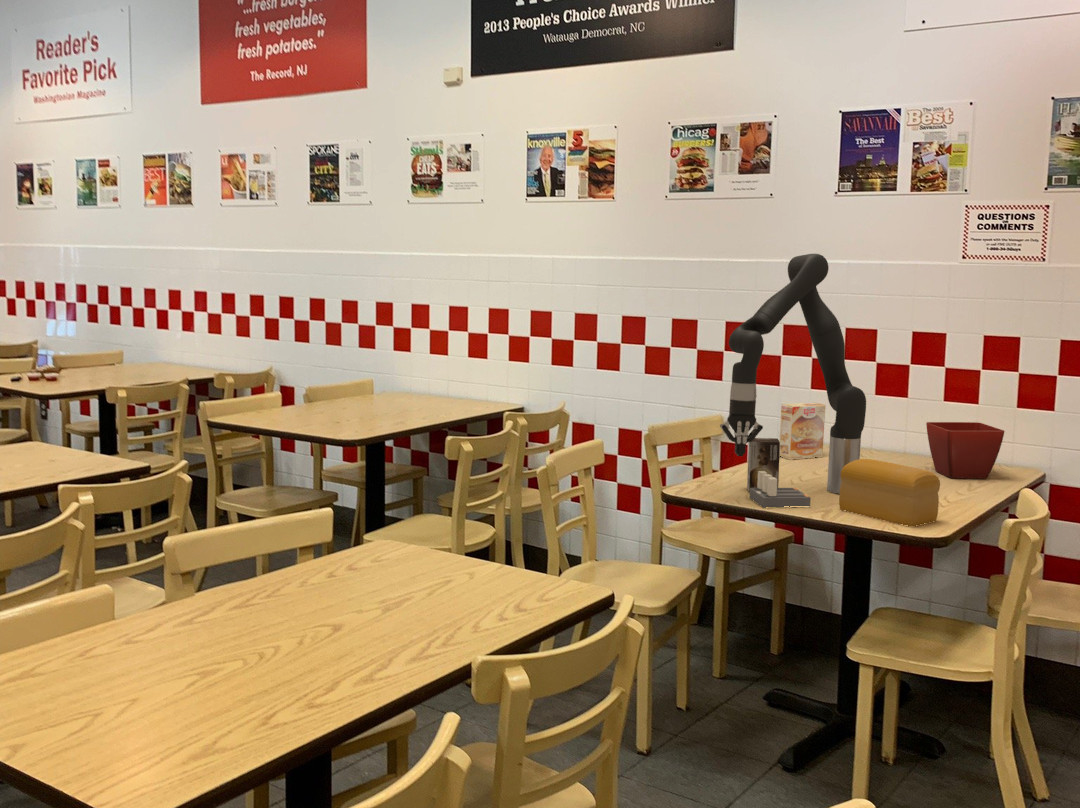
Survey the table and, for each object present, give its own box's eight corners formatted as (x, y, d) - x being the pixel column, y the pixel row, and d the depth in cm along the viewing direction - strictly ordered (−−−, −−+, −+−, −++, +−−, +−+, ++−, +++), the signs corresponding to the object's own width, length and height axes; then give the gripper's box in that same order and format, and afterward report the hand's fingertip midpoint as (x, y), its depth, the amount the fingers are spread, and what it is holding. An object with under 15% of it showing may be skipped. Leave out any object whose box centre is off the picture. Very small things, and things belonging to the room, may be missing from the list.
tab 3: (773, 494, 308) (774, 477, 307) (776, 496, 306) (777, 479, 305) (766, 494, 308) (767, 477, 307) (769, 496, 305) (770, 479, 305)
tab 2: (768, 490, 313) (769, 474, 312) (771, 492, 310) (772, 476, 309) (761, 490, 312) (762, 474, 312) (764, 492, 310) (765, 476, 309)
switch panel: (794, 497, 319) (795, 487, 319) (810, 507, 306) (810, 497, 306) (749, 497, 318) (749, 487, 317) (763, 508, 305) (763, 497, 304)
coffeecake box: (790, 460, 378) (792, 406, 375) (777, 456, 384) (780, 403, 382) (823, 457, 384) (826, 404, 381) (810, 454, 390) (813, 401, 388)
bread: (938, 521, 293) (942, 468, 291) (911, 528, 286) (915, 473, 284) (864, 504, 313) (867, 454, 311) (837, 509, 305) (840, 458, 303)
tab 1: (763, 487, 317) (764, 471, 316) (766, 489, 314) (767, 472, 314) (757, 487, 317) (758, 471, 316) (759, 489, 314) (760, 472, 314)
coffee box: (775, 488, 331) (778, 438, 328) (778, 493, 324) (781, 441, 322) (746, 487, 331) (748, 437, 329) (748, 492, 325) (750, 440, 323)
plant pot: (921, 469, 366) (925, 421, 364) (976, 469, 367) (979, 421, 364) (944, 481, 347) (948, 430, 345) (1002, 481, 348) (1006, 431, 346)
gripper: (760, 396, 316) (757, 453, 318) (717, 395, 314) (714, 453, 317) (768, 400, 308) (765, 458, 311) (724, 399, 307) (721, 458, 309)
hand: (739, 455), depth 314 cm, fingers closed
